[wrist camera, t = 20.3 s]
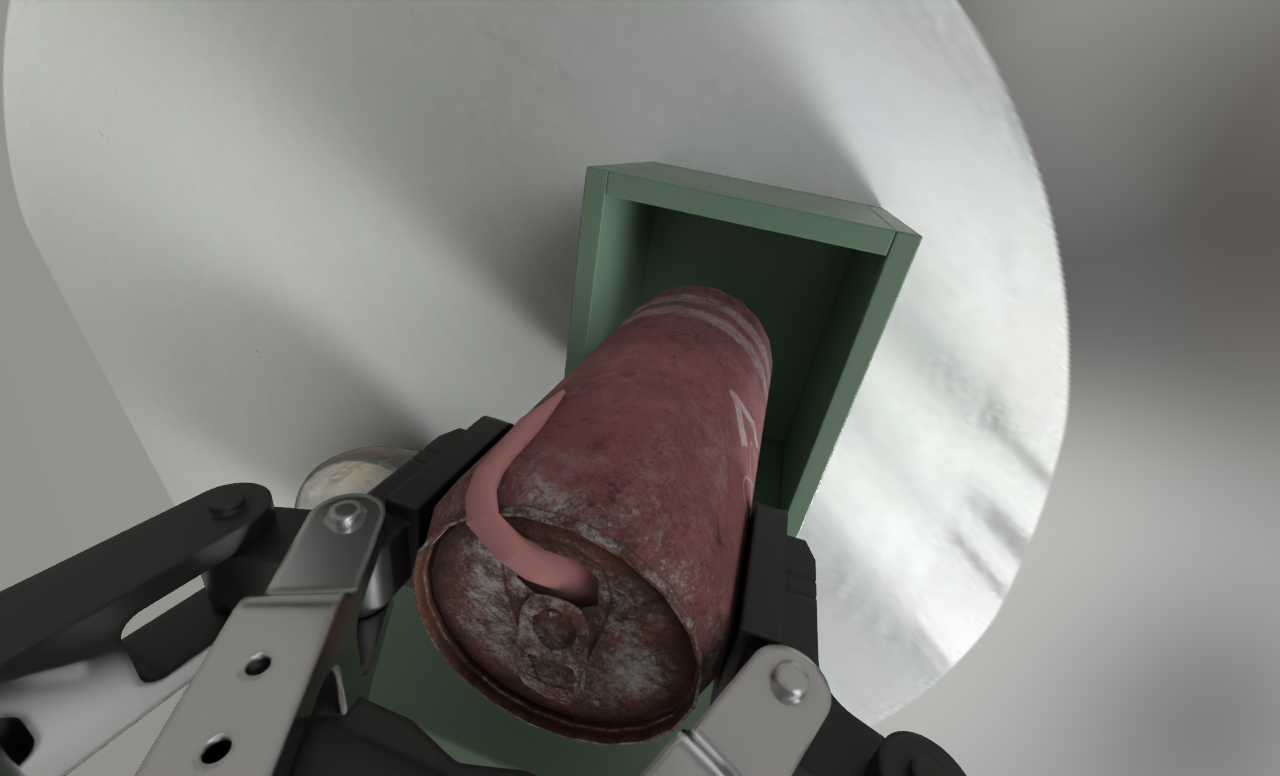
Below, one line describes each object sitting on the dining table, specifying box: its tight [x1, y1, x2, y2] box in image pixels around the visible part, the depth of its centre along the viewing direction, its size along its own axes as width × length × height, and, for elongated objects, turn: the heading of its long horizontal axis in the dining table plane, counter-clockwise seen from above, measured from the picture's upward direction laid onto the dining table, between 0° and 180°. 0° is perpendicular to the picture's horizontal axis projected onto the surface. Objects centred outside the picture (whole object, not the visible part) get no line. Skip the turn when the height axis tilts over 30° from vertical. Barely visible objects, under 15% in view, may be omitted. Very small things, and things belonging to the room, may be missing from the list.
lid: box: [368, 585, 714, 776], centre depth 20 cm, size 18×14×5 cm
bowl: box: [295, 446, 419, 510], centre depth 47 cm, size 21×21×8 cm
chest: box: [564, 162, 922, 538], centre depth 29 cm, size 17×14×11 cm
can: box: [411, 285, 773, 746], centre depth 15 cm, size 6×6×14 cm
